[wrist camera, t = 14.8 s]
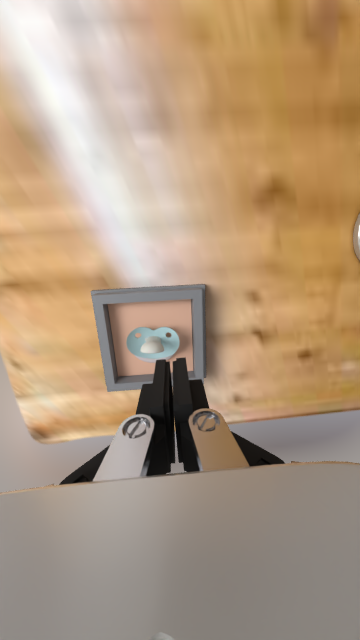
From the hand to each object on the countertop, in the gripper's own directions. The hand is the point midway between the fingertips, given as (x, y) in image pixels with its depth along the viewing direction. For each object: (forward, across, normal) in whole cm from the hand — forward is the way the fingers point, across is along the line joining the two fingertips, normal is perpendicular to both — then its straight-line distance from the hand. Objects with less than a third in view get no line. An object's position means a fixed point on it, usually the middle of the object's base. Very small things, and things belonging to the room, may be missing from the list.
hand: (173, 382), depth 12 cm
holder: (+20, +3, +5) cm, 21 cm away
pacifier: (+19, +3, +6) cm, 20 cm away
